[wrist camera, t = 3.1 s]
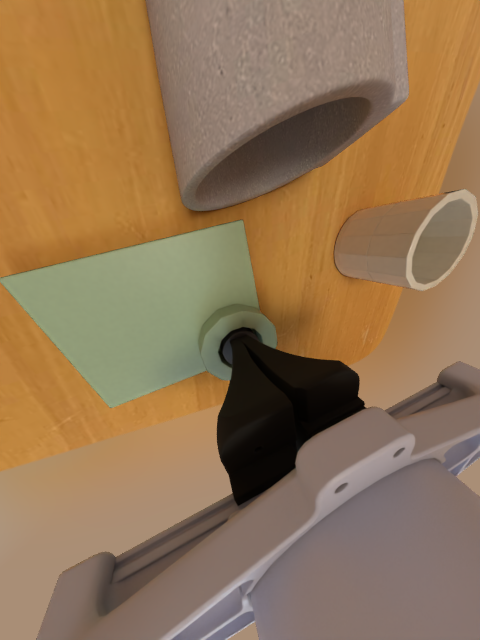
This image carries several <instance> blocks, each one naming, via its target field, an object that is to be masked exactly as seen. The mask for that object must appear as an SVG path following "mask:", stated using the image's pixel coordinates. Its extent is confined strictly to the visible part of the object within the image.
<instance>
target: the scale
mask: <svg viewBox="0 0 480 640" xmlns="http://www.w3.org/2000/svg"><path fill="white" fill-rule="evenodd" d="M0 282H1V283H2V284H3V286H4V287H5V288H6V289H7V290H8V291H9V293H10V294H11V295H12V296H13V297H14V298H15V299H16V301H17V302H18V303H19V304H20V305H21V306H22V307H23V309H24V310H25V311H26V312H27V313H28V314H29V315H30V317H31V318H32V319H33V320H34V321H35V322H36V324H37V325H38V326H39V327H40V328H41V329H42V330H43V332H44V333H45V334H46V335H47V336H48V337H49V338H50V340H51V341H52V342H53V343H54V344H55V345H56V346H57V348H58V349H59V350H60V351H61V352H62V353H63V354H64V356H65V357H66V358H67V359H68V360H69V361H70V363H71V364H72V365H73V366H74V367H75V368H76V369H77V371H78V372H79V373H80V374H81V375H82V376H83V377H84V379H85V380H86V381H87V382H88V383H89V384H90V385H91V387H92V388H93V389H94V390H95V391H96V392H97V394H98V395H99V396H100V397H101V398H102V399H103V400H104V402H105V403H106V404H107V405H108V406H109V407H110V408H113V407H116V406H118V405H121V404H123V403H126V402H128V401H131V400H133V399H136V398H138V397H141V396H143V395H146V394H148V393H151V392H153V391H156V390H159V389H161V388H164V387H166V386H169V385H171V384H174V383H176V382H179V381H181V380H184V379H186V378H189V377H191V376H194V375H196V374H199V373H201V372H204V371H208V372H209V373H211V374H213V375H214V376H216V377H218V378H219V379H221V380H230V379H231V373H232V364H230V363H228V362H227V361H226V360H225V358H224V356H223V354H222V351H221V349H220V343H221V340H222V339H223V338H224V337H225V336H226V335H227V334H228V333H229V332H230V331H232V330H235V329H238V328H241V327H247V328H250V329H251V330H252V332H253V333H254V334H255V335H256V336H257V338H258V339H259V342H261V343H263V344H265V345H267V346H269V347H272V348H274V349H275V348H276V346H277V336H276V329H275V326H274V325H273V324H272V323H271V322H270V321H269V320H268V318H267V317H266V316H265V315H264V314H262V313H261V312H260V308H259V303H258V298H257V292H256V287H255V281H254V276H253V271H252V265H251V260H250V254H249V249H248V244H247V238H246V233H245V228H244V222H243V220H238V221H234V222H229V223H225V224H221V225H217V226H213V227H209V228H204V229H200V230H196V231H192V232H188V233H184V234H180V235H175V236H171V237H167V238H163V239H159V240H155V241H150V242H146V243H142V244H138V245H134V246H130V247H126V248H121V249H117V250H113V251H109V252H105V253H101V254H96V255H92V256H88V257H84V258H80V259H76V260H72V261H67V262H63V263H59V264H55V265H51V266H47V267H42V268H38V269H34V270H30V271H26V272H22V273H18V274H13V275H9V276H5V277H1V278H0Z"/></svg>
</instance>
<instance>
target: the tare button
mask: <svg viewBox="0 0 480 640" xmlns="http://www.w3.org/2000/svg"><path fill="white" fill-rule="evenodd" d="M245 335H248V336H250V337H252V338H254V339H255V340H257V341H259V339H258V338H257V336H256V335H255V334H254V333H253V332H252V330H251V329H250V328H247V327H241V328H238V329H235V330H232V331H230V332H229V333H228V334H227V335H226V336H225V337H224V338H223V339H222V340H221V343H220V349H221V351H222V354H223V356H224V358H225V360H226V361H227V362H228V363H230V364H232V360H233V357H232V348H231V345H230V341H231V340H234V339H237V338H239V337H242V336H245Z"/></svg>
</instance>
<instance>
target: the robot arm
mask: <svg viewBox="0 0 480 640" xmlns="http://www.w3.org/2000/svg"><path fill="white" fill-rule="evenodd" d="M230 345H231V348H232V357H233V360H232V373H231V379H230V384H229V388H228V391H227V394H226V397H225V400H224V403H223V406H222V408H221V410H220V412H219V415H218V422H217V445H218V450H219V455H220V459H221V462H222V463H223V465H224V467H225V469H226V471H227V473H228V474H229V478H230V483H231V487H232V492H233V493H232V494H231V495H229V496H227V497H225V498H223V499H222V500H220V501H218V502H216V503H214V504H212V505H210V506H209V507H207V508H205V509H203V510H201V511H199V512H198V513H196V514H194V515H192V516H190V517H189V518H187V519H185V520H183V521H181V522H179V523H177V524H176V525H174V526H172V527H170V528H168V529H167V530H165V531H163V532H161V533H159V534H157V535H156V536H154V537H152V538H150V539H148V540H146V541H145V542H143V543H141V544H139V545H137V546H135V547H133V548H132V549H130V550H128V551H126V552H124V553H122V554H121V555H119V556H117V557H115V556H114V555H113V554H112V553H110V552H101V553H98V554H96V555H93V556H92V557H89V558H88V559H86V560H84V561H82V562H80V563H78V564H76V565H75V566H73V567H71V568H69V569H67V570H65V571H63V572H62V574H60V575H59V578H58V580H57V583H56V586H55V589H54V592H53V594H52V597H51V600H50V603H49V605H48V608H47V611H46V614H45V617H44V619H43V622H42V625H41V628H40V630H39V633H38V636H37V639H36V640H227V639H228V638H230V637H231V636H233V635H235V634H236V633H238V632H239V631H241V630H243V629H244V628H246V627H247V626H249V625H250V624H252V623H254V622H256V627H257V632H258V637H259V640H480V497H479V496H478V495H477V494H476V493H475V492H473V491H472V490H471V489H470V488H469V487H467V486H466V485H465V484H464V483H463V482H461V481H460V480H459V479H458V478H457V477H456V476H457V475H458V474H460V473H461V472H462V471H463V470H465V469H466V468H467V467H469V466H470V465H471V464H472V463H474V462H475V461H476V460H477V459H479V458H480V369H477V368H475V367H472V366H470V365H468V364H465V363H463V362H461V361H459V362H456V363H454V364H452V365H450V366H448V367H447V368H445V369H444V370H442V371H441V372H440V374H439V376H438V378H437V382H436V383H434V384H432V385H430V386H429V387H427V388H425V389H423V390H421V391H419V392H418V393H416V394H414V395H412V396H410V397H408V398H407V399H405V400H403V401H401V402H399V403H397V404H396V405H394V406H392V407H390V408H388V409H386V410H385V411H384V410H383V409H381V408H378V407H370V408H365V407H364V405H365V404H364V401H362V400H361V399H360V398H359V397H358V391H359V376H358V374H357V373H356V372H355V371H353V370H351V368H349V367H348V366H347V365H345V364H344V363H342V362H340V361H336V360H321V359H313V358H306V357H301V356H297V355H292V354H289V353H286V352H282V351H279V350H277V349H274V348H272V347H269V346H267V345H265V344H263V343H261V342H259V341H257V340H255V339H254V338H252V337H250V336H248V335H245V336H242V337H239V338H237V339H234V340H231V341H230Z"/></svg>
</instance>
